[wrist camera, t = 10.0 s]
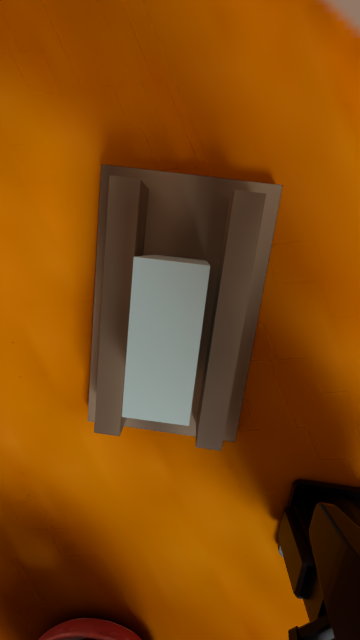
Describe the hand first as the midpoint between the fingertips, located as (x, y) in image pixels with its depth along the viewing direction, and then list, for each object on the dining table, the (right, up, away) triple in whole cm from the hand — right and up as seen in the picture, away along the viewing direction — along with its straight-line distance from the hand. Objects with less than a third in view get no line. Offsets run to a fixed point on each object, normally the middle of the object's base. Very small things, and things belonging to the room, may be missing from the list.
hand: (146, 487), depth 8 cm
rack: (+1, +5, +11) cm, 12 cm away
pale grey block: (+1, +5, +10) cm, 11 cm away
